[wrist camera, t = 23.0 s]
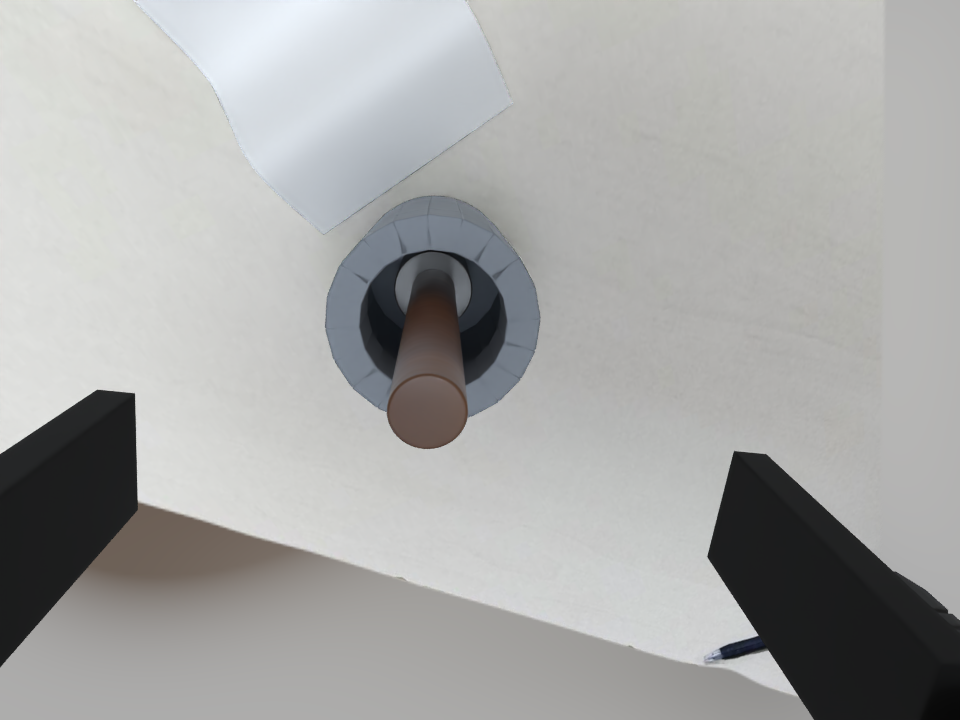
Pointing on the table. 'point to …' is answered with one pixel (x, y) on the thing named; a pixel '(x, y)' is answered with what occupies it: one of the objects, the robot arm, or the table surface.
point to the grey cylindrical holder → (483, 327)
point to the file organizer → (339, 88)
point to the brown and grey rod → (430, 350)
